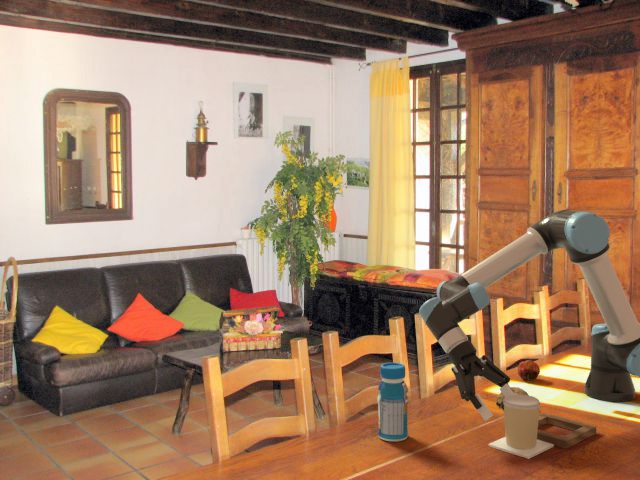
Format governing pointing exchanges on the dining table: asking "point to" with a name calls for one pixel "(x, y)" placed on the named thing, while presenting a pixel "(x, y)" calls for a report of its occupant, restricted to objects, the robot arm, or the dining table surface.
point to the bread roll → (502, 397)
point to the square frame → (568, 440)
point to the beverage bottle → (392, 403)
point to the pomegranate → (528, 370)
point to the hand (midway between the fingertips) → (503, 412)
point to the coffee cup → (521, 421)
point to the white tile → (525, 453)
